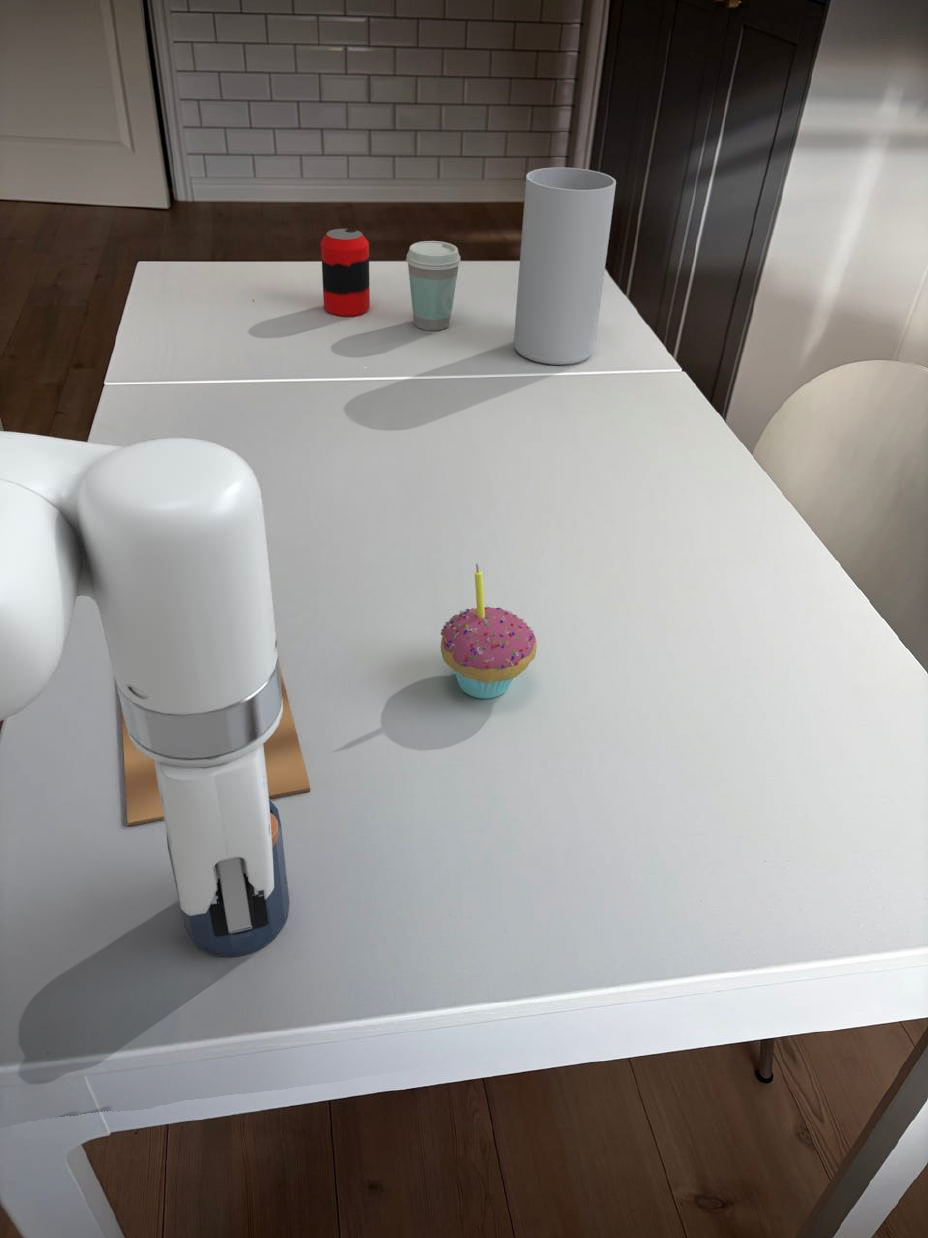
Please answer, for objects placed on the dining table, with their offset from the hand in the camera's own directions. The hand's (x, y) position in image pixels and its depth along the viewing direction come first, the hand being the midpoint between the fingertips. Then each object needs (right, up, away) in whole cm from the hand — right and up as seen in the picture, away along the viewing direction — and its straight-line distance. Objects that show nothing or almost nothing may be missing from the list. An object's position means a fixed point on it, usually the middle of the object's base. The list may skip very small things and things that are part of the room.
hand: (240, 920), depth 59 cm
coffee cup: (+8, +65, +101) cm, 121 cm away
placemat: (-11, +15, +33) cm, 38 cm away
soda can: (-6, +69, +105) cm, 126 cm away
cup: (-3, -3, +11) cm, 11 cm away
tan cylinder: (-1, -2, +11) cm, 11 cm away
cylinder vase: (+27, +59, +94) cm, 115 cm away
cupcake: (+15, +12, +32) cm, 37 cm away
